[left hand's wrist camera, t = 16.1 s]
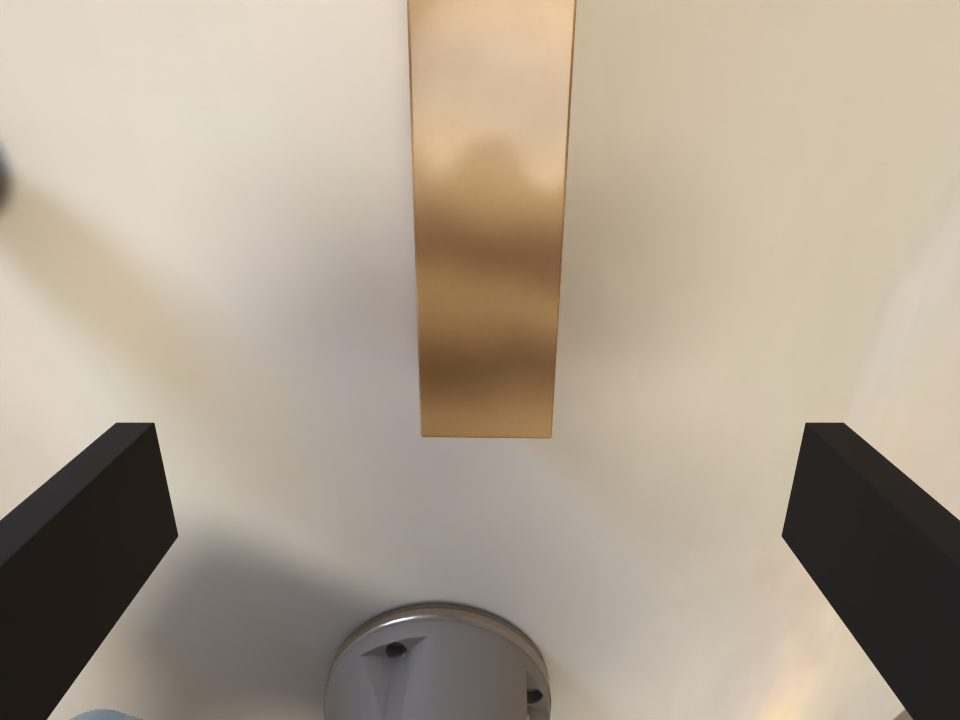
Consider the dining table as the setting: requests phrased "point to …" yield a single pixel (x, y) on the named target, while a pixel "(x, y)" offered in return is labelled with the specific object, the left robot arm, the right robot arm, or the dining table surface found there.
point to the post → (489, 209)
